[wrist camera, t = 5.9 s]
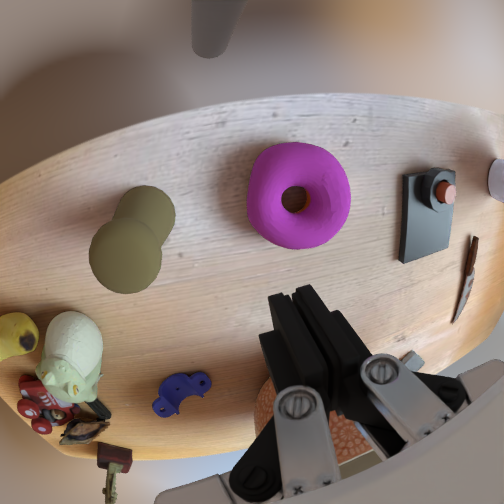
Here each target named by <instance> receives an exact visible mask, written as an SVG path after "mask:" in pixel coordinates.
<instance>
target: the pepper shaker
mask: <svg viewBox="0 0 504 504" xmlns="http://www.w3.org/2000/svg"><path fill="white" fill-rule="evenodd" d="M174 222H175V209H174V205H173V203H172V201H171V199H170V198H169V197H168V196H167V195H166V194H165V193H164V192H163V191H162V190H160V189H158V188H156V187H153V186H145V185H144V186H139V187H135V188H133V189H131V190H130V191H128V192H127V193H126V194H125V195H124V196H123V197H122V199H121V200H120V202H119V205H118V207H117V209H116V212H115V214H114V216H113V219H112V220H111V221H110V222H108V223H106V224H105V225H103V226H102V227H101V228H100V229H99V230H98V232H97V233H96V234H95V235H94V237H93V239H92V242H91V245H90V249H89V263H90V266H91V269H92V272H93V274H94V275H95V277H96V278H97V280H98V281H99V282H100V283H101V284H102V285H103V286H104V287H106V288H107V289H109V290H111V291H113V292H116V293H121V294H130V293H137V292H139V291H142V290H144V289H146V288H147V287H148V286H149V285H150V284H151V283H152V282H153V281H154V280H155V279H156V277H157V275H158V273H159V270H160V268H161V260H162V251H161V246H162V245H163V243H164V241H165V240H166V238H167V237H168V235H169V234H170V232H171V230H172V228H173V226H174Z"/></svg>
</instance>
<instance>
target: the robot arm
mask: <svg viewBox="0 0 504 504" xmlns="http://www.w3.org/2000/svg"><path fill="white" fill-rule="evenodd" d="M268 301H269V306H270V311H271V316H272V322H273V327H274V330H273V331H269V332H266V333H262V334H259V340H260V344H261V348H262V351H263V355H264V358H265V362H266V365H267V368H268V371H269V374H270V377H271V380H272V383H273V386H274V389H275V392H276V394H277V396H276V398H275V400H274V402H273V413H274V414H273V416H272V417H271V419H270V420H269V421H268V423H267V424H266V426H265V427H264V428H263V430H262V431H261V432H260V434H259V435H258V437H257V438H256V439H255V441H254V442H253V443H252V445H251V446H250V447H249V448H248V450H247V451H246V452H245V454H244V455H243V456H242V457H241V459H240V460H239V461H238V462H237V464H236V465H235V466H234V467H233V469H232V471H229V472H226V473H224V474H221V475H219V474H216V475H213V476H210V477H207V478H205V479H202V480H198V481H195V482H192V483H189V484H186V485H182V486H179V487H176V488H172V489H168V490H165V491H163V492H161V493H159V495H158V496H157V497H156V499H155V501H154V504H504V362H503V361H501V360H497V359H494V360H490V361H488V362H486V363H484V364H482V365H480V366H478V367H475V368H473V369H471V370H468V371H466V372H464V373H461V374H459V375H458V376H457V378H451V377H445V376H438V375H431V374H425V373H419V372H414V371H410V370H409V369H408V368H407V367H406V366H405V365H404V364H403V363H402V362H401V361H400V360H399V359H397V358H396V357H394V356H392V355H389V354H375V355H372V354H371V353H370V351H369V350H368V349H367V347H366V346H365V344H364V343H363V342H362V340H361V339H360V338H359V336H358V335H357V333H356V332H355V331H354V329H353V328H352V327H351V325H350V324H349V323H348V321H347V320H346V319H345V317H344V316H343V315H342V313H341V312H340V311H339V310H335V311H333V312H330V311H329V310H328V308H327V307H326V306H325V304H324V303H323V301H322V300H321V298H320V297H319V296H318V294H317V293H316V291H315V290H314V289H313V287H312V286H311V285H310V284H309V285H305V286H302V287H299V288H296V292H295V293H292V300H291V298H290V296H289V295H285V296H284V295H283V293H278V294H275V295H271V296H268ZM292 301H293V302H292ZM334 410H335V412H336V414H337V416H341V415H344V416H345V418H346V419H348V420H352V421H353V423H354V425H355V427H356V428H357V429H358V431H359V432H360V433H361V434H362V436H363V437H364V438H365V440H366V441H367V442H368V443H369V445H370V446H371V447H372V448H373V450H374V451H375V452H376V454H377V455H378V456H379V457H380V459H381V460H382V461H383V462H381V463H379V464H377V465H375V466H373V467H371V468H369V469H366V470H364V471H362V472H360V473H358V474H355V475H353V476H351V477H348V478H346V479H343V480H342V478H341V474H340V470H339V465H338V461H337V457H336V453H335V449H334V445H333V441H332V437H331V433H330V429H329V419H330V411H331V412H332V411H334Z"/></svg>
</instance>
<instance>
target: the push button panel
mask: <svg viewBox="0 0 504 504" xmlns="http://www.w3.org/2000/svg"><path fill="white" fill-rule="evenodd" d="M442 181H444V182H447V183H450V184H452V185H454V186H455V171H453V170H450V169H448V170H444V169H441V168H431V169H430V170H429V171H428V172H420V173H412V174H404V175H403V201H402V225H401V240H400V251H399V261H400V262H402V263H403V264H405V263H408V262H410V261H413V260H416V259H419V258H422V257H424V256H427V255H430V254H433V253H435V252H438V251H441V250H443V249H446V248H448V245H449V239H450V232H451V224H452V215H453V205H454V202H453V203H452V204H449V205H448V204H446V203H444V202H441V201H439V200H438V199H437V198H436V189H437V186H438V184H439V183H440V182H442Z"/></svg>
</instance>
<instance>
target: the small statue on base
mask: <svg viewBox="0 0 504 504" xmlns="http://www.w3.org/2000/svg"><path fill="white" fill-rule="evenodd" d="M131 464H132V450H130V449H125V448H121V447H117V446H113V445H108V444H104V443H102V442H99V443H98V453H97V465H98V467H99V468H103V469H107V477H106V488H103V490H102V491H103V494H105V504H114V503H115V500H116V499H117V493H116V492H115V490H116V487H115V484H116V483H115V481H116V473H120V472H121V473H128V472H129V469H130V467H131Z"/></svg>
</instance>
